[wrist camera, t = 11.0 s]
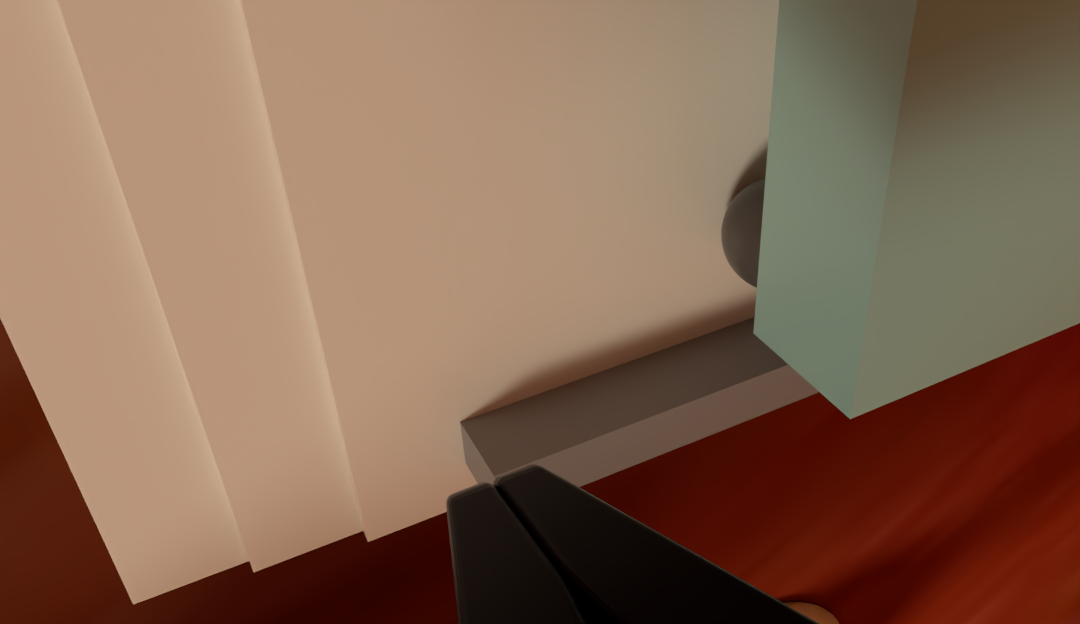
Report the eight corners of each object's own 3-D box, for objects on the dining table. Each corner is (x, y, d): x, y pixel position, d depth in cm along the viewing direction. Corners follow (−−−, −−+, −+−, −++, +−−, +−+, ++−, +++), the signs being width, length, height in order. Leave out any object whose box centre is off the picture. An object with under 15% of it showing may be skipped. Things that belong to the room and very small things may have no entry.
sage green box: (1090, 137, 21) (1299, 230, 18) (687, 275, 18) (850, 419, 15) (1218, -306, 16) (1534, -291, 13) (701, -227, 13) (945, -178, 10)
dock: (1062, 244, 24) (1149, 292, 22) (130, 592, 17) (150, 703, 15) (1280, -493, 16) (1444, -508, 14) (-328, -405, 9) (-400, -413, 7)
